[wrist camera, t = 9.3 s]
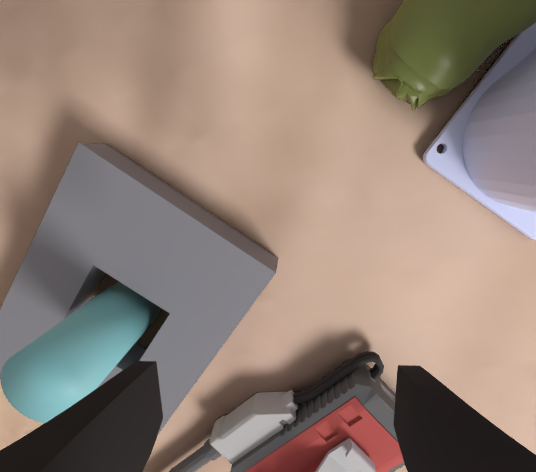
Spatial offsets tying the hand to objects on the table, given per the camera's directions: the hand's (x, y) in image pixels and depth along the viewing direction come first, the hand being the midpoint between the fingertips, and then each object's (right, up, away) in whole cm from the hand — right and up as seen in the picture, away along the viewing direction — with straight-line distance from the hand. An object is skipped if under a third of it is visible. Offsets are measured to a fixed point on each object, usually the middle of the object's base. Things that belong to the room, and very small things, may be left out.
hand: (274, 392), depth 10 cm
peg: (-9, 0, +11) cm, 15 cm away
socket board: (-9, 0, +11) cm, 15 cm away
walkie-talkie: (+1, -10, +14) cm, 17 cm away
